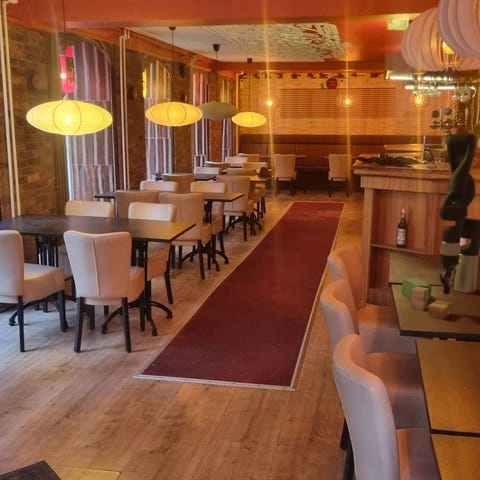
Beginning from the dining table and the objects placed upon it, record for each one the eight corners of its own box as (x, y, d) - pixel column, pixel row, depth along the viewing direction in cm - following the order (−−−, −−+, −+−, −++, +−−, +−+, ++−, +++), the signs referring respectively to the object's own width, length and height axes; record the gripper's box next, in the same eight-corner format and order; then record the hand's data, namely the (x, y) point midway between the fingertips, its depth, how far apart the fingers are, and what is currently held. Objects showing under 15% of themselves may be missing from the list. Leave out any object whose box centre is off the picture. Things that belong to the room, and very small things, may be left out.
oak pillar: (436, 300, 249) (428, 305, 242) (451, 302, 246) (443, 308, 239) (435, 310, 250) (428, 316, 243) (450, 313, 247) (442, 319, 240)
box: (414, 302, 260) (416, 285, 259) (401, 293, 273) (402, 277, 272) (430, 302, 262) (432, 285, 260) (416, 293, 275) (417, 277, 273)
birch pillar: (415, 304, 257) (417, 286, 256) (427, 307, 254) (428, 288, 253) (410, 307, 254) (412, 289, 252) (422, 310, 250) (423, 291, 249)
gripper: (446, 248, 252) (443, 288, 256) (434, 254, 242) (431, 295, 246) (465, 251, 248) (461, 291, 251) (453, 257, 238) (449, 299, 241)
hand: (446, 293), depth 249 cm, fingers closed
